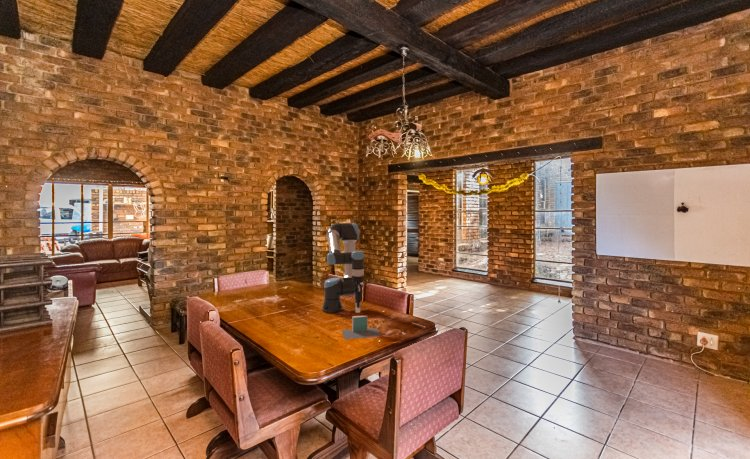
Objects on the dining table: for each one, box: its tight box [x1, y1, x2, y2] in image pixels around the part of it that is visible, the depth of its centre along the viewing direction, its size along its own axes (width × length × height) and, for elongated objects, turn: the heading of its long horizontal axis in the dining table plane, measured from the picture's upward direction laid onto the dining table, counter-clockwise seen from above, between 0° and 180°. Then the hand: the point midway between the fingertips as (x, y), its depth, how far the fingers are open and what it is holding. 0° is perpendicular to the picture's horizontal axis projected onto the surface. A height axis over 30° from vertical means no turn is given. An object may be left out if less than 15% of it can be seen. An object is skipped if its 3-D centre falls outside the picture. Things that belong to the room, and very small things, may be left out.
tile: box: [351, 315, 368, 332], centre depth 206 cm, size 2×9×9 cm, turn 102°
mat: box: [341, 327, 382, 340], centre depth 202 cm, size 14×22×1 cm, turn 102°
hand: (357, 312), depth 213 cm, fingers closed
